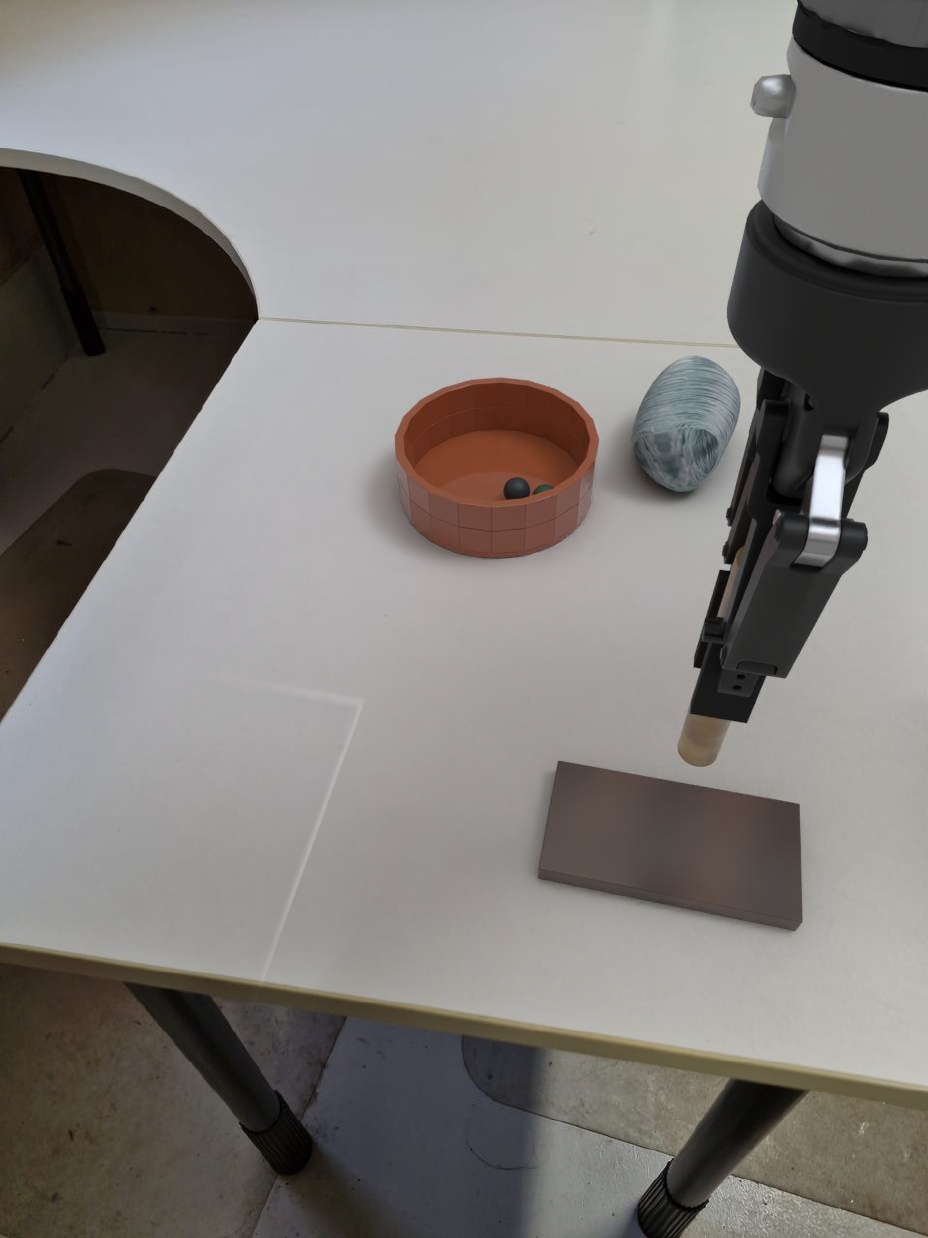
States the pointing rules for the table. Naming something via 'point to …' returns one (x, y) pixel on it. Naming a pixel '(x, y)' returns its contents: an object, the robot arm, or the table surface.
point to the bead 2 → (542, 488)
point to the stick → (703, 732)
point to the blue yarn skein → (686, 422)
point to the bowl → (496, 466)
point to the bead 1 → (516, 488)
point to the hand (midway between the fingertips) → (719, 688)
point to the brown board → (675, 844)
